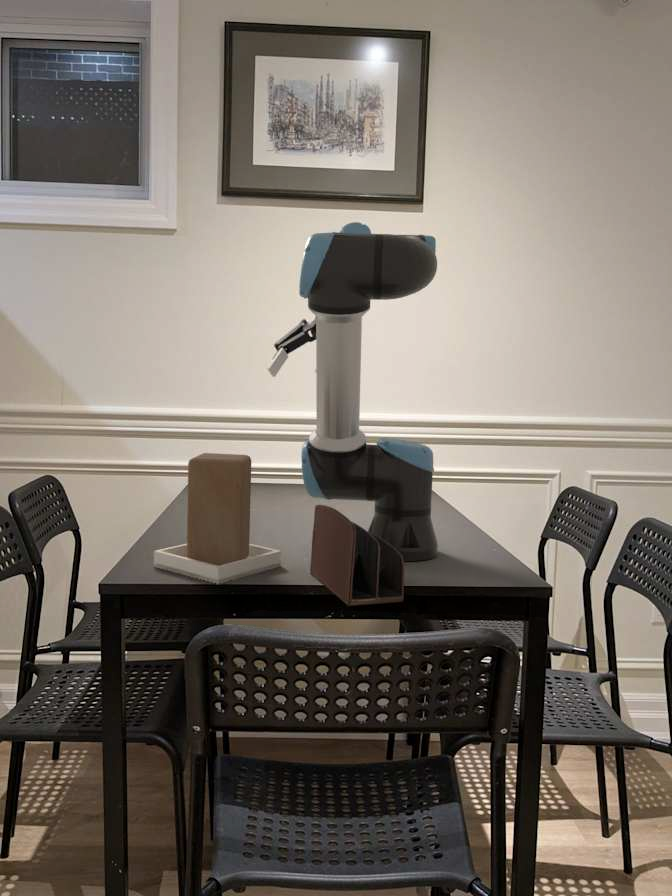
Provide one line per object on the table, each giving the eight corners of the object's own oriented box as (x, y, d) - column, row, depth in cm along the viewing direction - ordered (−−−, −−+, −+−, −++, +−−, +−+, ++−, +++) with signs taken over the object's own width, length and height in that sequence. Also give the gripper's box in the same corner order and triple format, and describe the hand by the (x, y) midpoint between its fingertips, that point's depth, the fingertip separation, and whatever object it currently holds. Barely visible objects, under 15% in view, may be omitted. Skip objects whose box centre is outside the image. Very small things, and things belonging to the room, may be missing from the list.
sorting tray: (280, 566, 151) (281, 550, 150) (217, 584, 137) (218, 567, 137) (218, 551, 160) (218, 536, 160) (153, 566, 147) (153, 550, 147)
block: (239, 571, 143) (242, 461, 141) (185, 568, 144) (186, 458, 142) (249, 557, 153) (252, 454, 151) (198, 554, 154) (200, 452, 152)
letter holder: (347, 607, 128) (351, 521, 126) (309, 574, 147) (312, 499, 145) (404, 603, 131) (408, 519, 130) (359, 571, 150) (362, 497, 148)
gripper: (387, 321, 181) (346, 388, 170) (302, 321, 195) (259, 382, 185) (375, 296, 176) (332, 363, 165) (288, 297, 190) (244, 359, 180)
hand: (294, 373), depth 175 cm, fingers open, 13 cm apart
